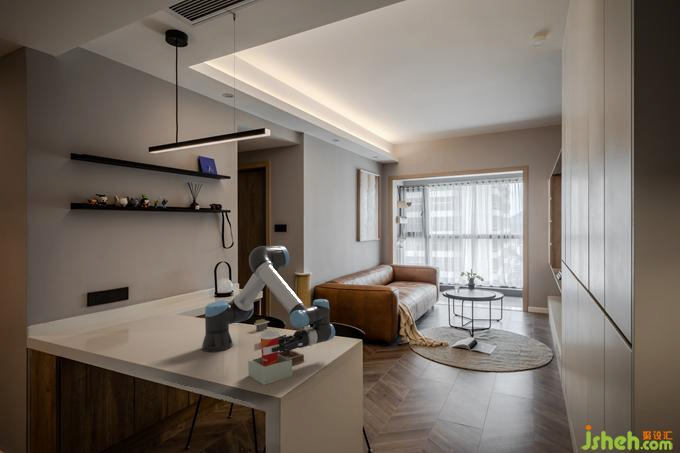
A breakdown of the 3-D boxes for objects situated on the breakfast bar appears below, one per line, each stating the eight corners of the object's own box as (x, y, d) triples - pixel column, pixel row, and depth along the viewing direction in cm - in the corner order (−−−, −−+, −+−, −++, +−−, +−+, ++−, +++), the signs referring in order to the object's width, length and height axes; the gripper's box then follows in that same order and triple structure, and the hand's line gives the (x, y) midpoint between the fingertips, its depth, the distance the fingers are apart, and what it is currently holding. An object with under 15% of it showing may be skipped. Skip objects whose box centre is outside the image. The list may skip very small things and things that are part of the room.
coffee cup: (261, 365, 155) (260, 330, 155) (280, 365, 155) (280, 329, 156) (258, 373, 146) (258, 336, 146) (279, 372, 147) (278, 335, 147)
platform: (243, 332, 222) (242, 321, 223) (267, 326, 236) (267, 316, 236) (254, 335, 214) (254, 324, 214) (278, 329, 227) (278, 318, 228)
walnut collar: (267, 361, 168) (267, 354, 168) (289, 355, 176) (289, 348, 176) (281, 368, 159) (281, 361, 159) (303, 361, 167) (303, 354, 167)
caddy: (248, 375, 151) (248, 359, 151) (275, 367, 160) (275, 352, 160) (264, 384, 141) (263, 368, 142) (292, 375, 150) (291, 359, 150)
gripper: (318, 351, 155) (272, 365, 140) (292, 341, 170) (247, 353, 155) (318, 333, 155) (271, 345, 140) (292, 325, 170) (247, 335, 155)
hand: (259, 349), depth 148 cm, fingers closed on coffee cup, 7 cm apart
